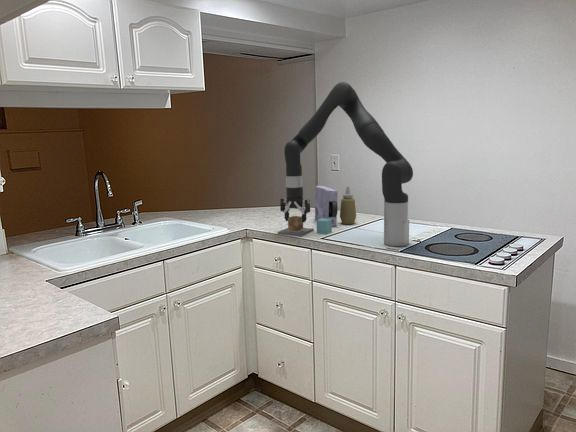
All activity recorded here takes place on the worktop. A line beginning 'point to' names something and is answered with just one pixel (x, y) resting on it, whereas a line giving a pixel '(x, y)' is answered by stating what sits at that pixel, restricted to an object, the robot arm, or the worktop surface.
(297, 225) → the walnut block
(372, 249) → the worktop surface
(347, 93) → the robot arm
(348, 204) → the squeeze bottle
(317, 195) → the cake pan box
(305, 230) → the base board
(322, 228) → the teal block
